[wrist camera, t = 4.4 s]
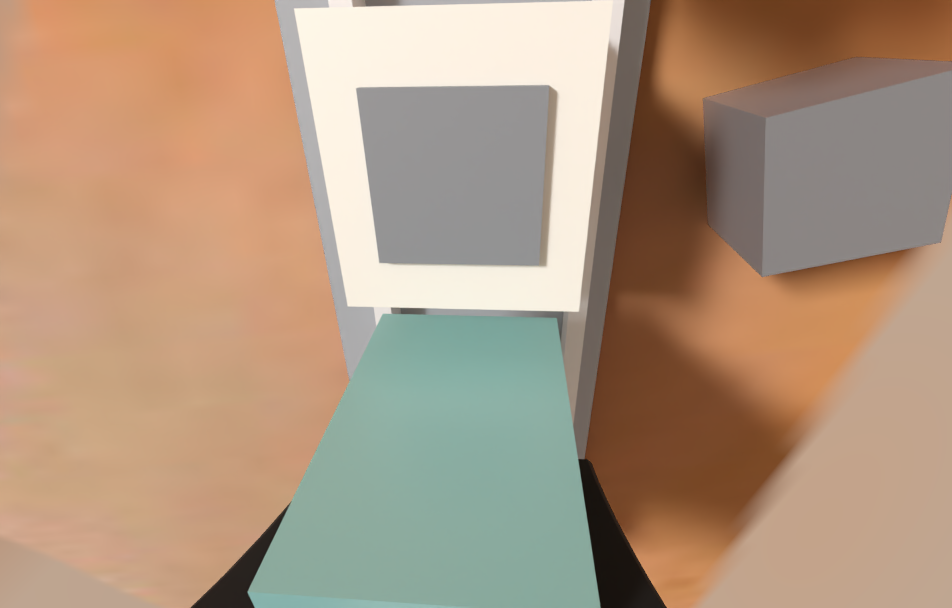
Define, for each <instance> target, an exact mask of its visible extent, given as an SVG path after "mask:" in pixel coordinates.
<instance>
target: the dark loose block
mask: <svg viewBox="0 0 952 608" xmlns="http://www.w3.org/2000/svg"><path fill="white" fill-rule="evenodd" d="M703 111H704V138H705V165H706V191H707V218H708V225H709V226H710V227H711V228H712V229H713V230H714V231H715V232H716V233H717V234H718V235H719V236H720V237H721V238H722V239H723V240H724V241H725V242H726V243H727V244H729V245H730V246H731V247H732V248H733V249H734V250H735V251H736V252H737V253H738V254H739V255H740V256H741V257H742V258H743V259H744V260H745V261H746V262H747V263H748V264H749V265H750V266H751V267H752V268H753V269H754V270H755V271H756V272H758V273H759V274H760V275H761V276H762V277H764V276H769V275H775V274H780V273H785V272H790V271H795V270H801V269H806V268H811V267H816V266H821V265H827V264H832V263H837V262H842V261H847V260H853V259H858V258H863V257H868V256H873V255H879V254H884V253H889V252H894V251H899V250H905V249H910V248H915V247H920V246H925V245H931V244H936V243H941V240H942V236H943V231H944V226H945V222H946V217H947V213H948V208H949V204H950V199H951V195H952V61H931V60H911V59H891V58H871V57H854V58H850V59H846V60H843V61H839V62H835V63H831V64H828V65H824V66H820V67H817V68H813V69H809V70H806V71H802V72H798V73H794V74H791V75H787V76H783V77H780V78H776V79H772V80H769V81H765V82H761V83H757V84H754V85H750V86H746V87H743V88H739V89H735V90H732V91H728V92H724V93H720V94H717V95H713V96H709V97H706V98H703Z"/></svg>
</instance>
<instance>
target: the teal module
mask: <svg viewBox="0 0 952 608" xmlns="http://www.w3.org/2000/svg"><path fill="white" fill-rule="evenodd" d="M248 594H249V596H250V599H251V601H252V603H253V605H254V607H255V608H601V607H600V601H599V594H598V587H597V581H596V574H595V567H594V561H593V554H592V548H591V541H590V534H589V528H588V521H587V515H586V508H585V501H584V495H583V488H582V482H581V475H580V468H579V462H578V455H577V448H576V442H575V435H574V429H573V422H572V415H571V409H570V402H569V396H568V389H567V382H566V376H565V369H564V363H563V356H562V349H561V343H560V336H559V329H558V323H557V318H543V317H502V316H460V315H418V314H382V316H381V318H380V320H379V322H378V324H377V326H376V329H375V331H374V333H373V335H372V337H371V339H370V341H369V343H368V345H367V347H366V349H365V351H364V353H363V355H362V357H361V359H360V361H359V364H358V366H357V368H356V370H355V372H354V374H353V376H352V378H351V380H350V382H349V384H348V386H347V388H346V390H345V392H344V394H343V396H342V398H341V401H340V403H339V405H338V407H337V409H336V411H335V413H334V415H333V417H332V419H331V421H330V423H329V425H328V427H327V429H326V431H325V433H324V435H323V438H322V440H321V442H320V444H319V446H318V448H317V450H316V452H315V454H314V456H313V458H312V460H311V462H310V464H309V466H308V468H307V470H306V472H305V475H304V477H303V479H302V481H301V483H300V485H299V487H298V489H297V491H296V493H295V495H294V497H293V499H292V501H291V503H290V505H289V507H288V510H287V512H286V514H285V516H284V518H283V520H282V522H281V524H280V526H279V528H278V530H277V532H276V534H275V536H274V538H273V540H272V542H271V544H270V547H269V549H268V551H267V553H266V555H265V557H264V559H263V561H262V563H261V565H260V567H259V569H258V571H257V573H256V575H255V577H254V579H253V581H252V584H251V586H250V588H249V590H248Z"/></svg>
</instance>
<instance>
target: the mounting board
mask: <svg viewBox="0 0 952 608" xmlns="http://www.w3.org/2000/svg"><path fill="white" fill-rule="evenodd" d="M650 3H651V0H275V5H276V10H277V15H278V20H279V25H280V30H281V35H282V40H283V45H284V50H285V55H286V61H287V66H288V71H289V76H290V81H291V86H292V91H293V96H294V101H295V106H296V111H297V116H298V122H299V127H300V132H301V137H302V142H303V147H304V152H305V157H306V162H307V167H308V172H309V177H310V183H311V188H312V193H313V198H314V203H315V208H316V213H317V218H318V223H319V228H320V233H321V238H322V244H323V249H324V254H325V259H326V264H327V269H328V274H329V279H330V284H331V289H332V294H333V299H334V305H335V310H336V315H337V320H338V325H339V330H340V335H341V340H342V345H343V350H344V355H345V360H346V366H347V371H348V376H349V381H350V380H351V378H352V376H353V374H354V372H355V370H356V368H357V366H358V364H359V361H360V359H361V357H362V355H363V353H364V351H365V349H366V347H367V345H368V343H369V341H370V339H371V337H372V335H373V333H374V331H375V329H376V326H377V324H378V322H379V320H380V318H381V316H382V314H418V315H460V316H502V317H543V318H557V323H558V329H559V336H560V343H561V349H562V356H563V363H564V369H565V376H566V382H567V389H568V396H569V402H570V409H571V415H572V422H573V429H574V435H575V442H576V448H577V455H578V459H585V452H586V446H587V439H588V432H589V425H590V418H591V411H592V404H593V397H594V390H595V383H596V376H597V369H598V363H599V356H600V349H601V342H602V335H603V328H604V321H605V314H606V307H607V300H608V293H609V286H610V280H611V273H612V266H613V259H614V252H615V245H616V238H617V231H618V224H619V217H620V210H621V203H622V197H623V190H624V183H625V176H626V169H627V162H628V155H629V148H630V141H631V134H632V127H633V120H634V114H635V107H636V100H637V93H638V86H639V79H640V72H641V65H642V58H643V51H644V44H645V37H646V31H647V24H648V17H649V10H650Z"/></svg>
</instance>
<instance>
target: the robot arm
mask: <svg viewBox="0 0 952 608" xmlns="http://www.w3.org/2000/svg"><path fill="white" fill-rule="evenodd" d="M578 462H579V468H580V475H581V482H582V488H583V495H584V501H585V508H586V515H587V521H588V528H589V534H590V541H591V548H592V554H593V561H594V567H595V574H596V581H597V587H598V594H599V601H600V607H601V608H667V607H666V606H665V604H664V603H663V601H662V599H661V598H660V596H659V594H658V593H657V591H656V590H655V588H654V586H653V585H652V583H651V581H650V580H649V578H648V576H647V574H646V573H645V571H644V569H643V568H642V566H641V564H640V562H639V561H638V559H637V557H636V555H635V553H634V551H633V550H632V548H631V546H630V544H629V542H628V540H627V539H626V537H625V535H624V533H623V531H622V529H621V527H620V525H619V523H618V521H617V519H616V517H615V515H614V513H613V511H612V509H611V507H610V505H609V503H608V501H607V499H606V497H605V494H604V492H603V490H602V488H601V485H600V483H599V481H598V478H597V476H596V473H595V471H594V468H593V465H592V463H591V462H590V461H589V460H588V459H578ZM290 503H291V502H290ZM289 505H290V504H289ZM289 505H288V506H287V507H286V508H285V509H284V510H283V512H282V513H281V514H280V515H279V516H278V517H277V518H276V520H275V521H274V522H273V523H272V524H271V525H270V527H269V528H268V529H267V530H266V531H265V532H264V533H263V534H262V535H261V537H260V538H259V539H258V540H257V541H256V542H255V543H254V544H253V545H252V546H251V547H250V548H249V549H248V550H247V551H246V553H245V554H244V555H243V556H242V557H241V558H240V559H239V560H238V561H237V562H236V563H235V564H234V565H233V566H232V567H231V568H230V569H229V570H228V572H227V573H226V574H225V575H224V576H223V577H222V578H221V579H220V580H219V581H218V582H217V583H216V584H215V585H214V586H213V587H212V588H211V589H209V590H208V591H207V592H206V593H205V594H204V595H203V596H202V597H201V598H200V599H199V600H198V601H197V602H196V603H195V604H194V605H193V606H192V607H191V608H255V607H254V605H253V603H252V601H251V599H250V596H249V594H248V590H249V588H250V586H251V584H252V581H253V579H254V577H255V575H256V573H257V571H258V569H259V567H260V565H261V563H262V561H263V559H264V557H265V555H266V553H267V551H268V549H269V547H270V544H271V542H272V540H273V538H274V536H275V534H276V532H277V530H278V528H279V526H280V524H281V522H282V520H283V518H284V516H285V514H286V512H287V510H288V507H289Z"/></svg>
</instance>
